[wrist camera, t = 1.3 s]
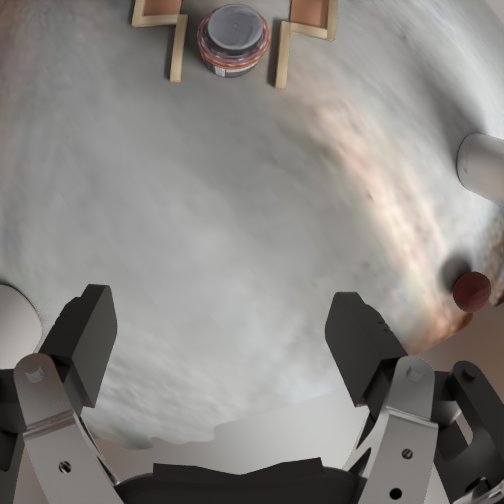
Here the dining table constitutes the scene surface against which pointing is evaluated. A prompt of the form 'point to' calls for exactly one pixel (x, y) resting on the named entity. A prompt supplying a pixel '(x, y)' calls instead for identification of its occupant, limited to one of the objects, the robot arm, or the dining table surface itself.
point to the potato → (472, 291)
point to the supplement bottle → (232, 40)
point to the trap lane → (301, 22)
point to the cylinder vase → (16, 327)
